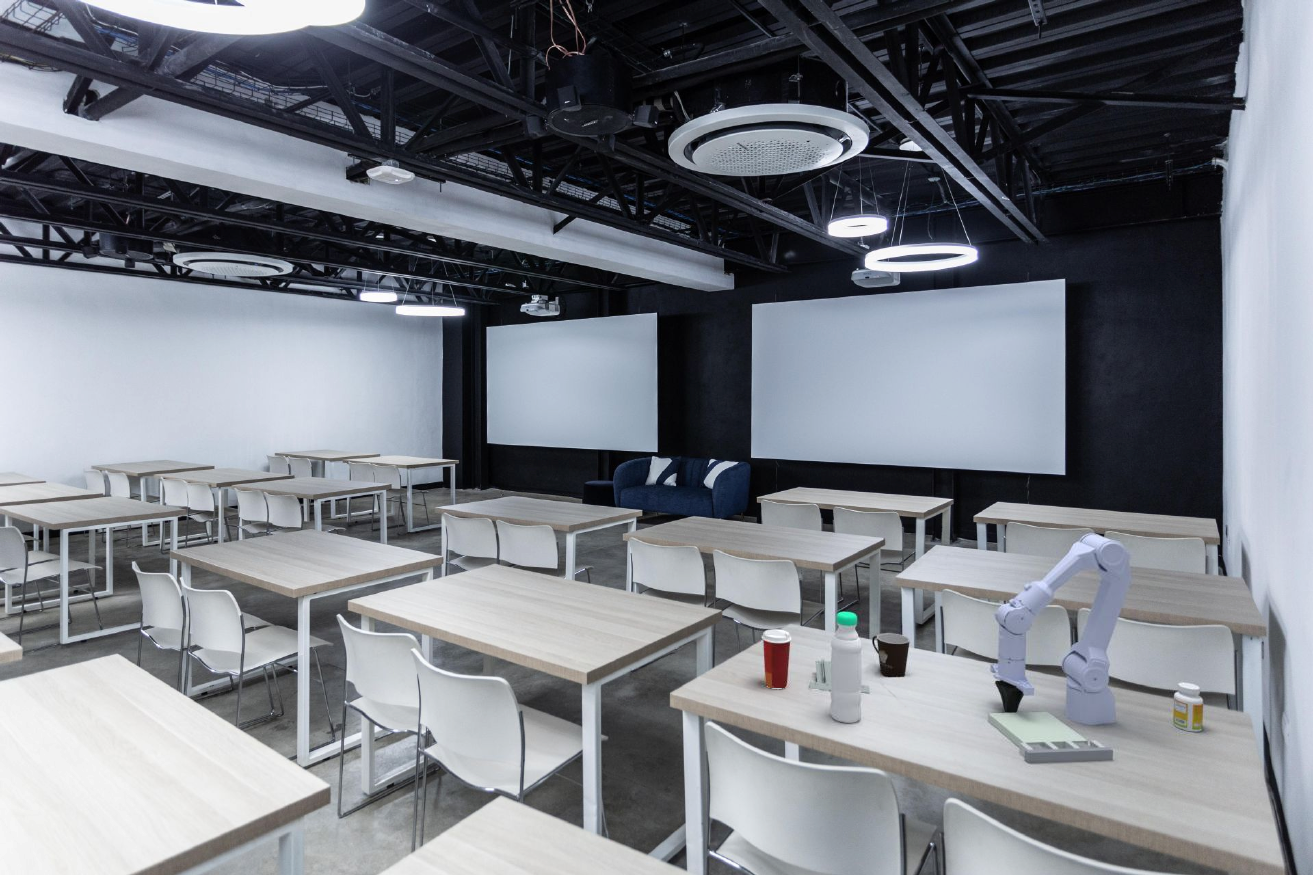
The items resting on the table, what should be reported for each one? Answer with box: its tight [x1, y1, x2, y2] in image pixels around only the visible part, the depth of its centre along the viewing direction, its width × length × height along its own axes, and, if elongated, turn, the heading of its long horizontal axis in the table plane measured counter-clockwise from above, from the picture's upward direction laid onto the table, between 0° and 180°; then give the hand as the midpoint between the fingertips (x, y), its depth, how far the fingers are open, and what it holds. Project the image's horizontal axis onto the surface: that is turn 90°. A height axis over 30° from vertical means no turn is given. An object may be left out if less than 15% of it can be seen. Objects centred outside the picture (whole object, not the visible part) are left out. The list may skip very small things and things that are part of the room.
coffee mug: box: [871, 632, 911, 679], centre depth 195 cm, size 12×9×10 cm
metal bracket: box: [809, 658, 871, 695], centre depth 188 cm, size 14×6×15 cm
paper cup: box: [761, 628, 792, 689], centre depth 186 cm, size 8×8×14 cm
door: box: [987, 711, 1095, 750], centre depth 154 cm, size 14×17×2 cm
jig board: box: [1018, 739, 1114, 764], centre depth 157 cm, size 18×26×4 cm
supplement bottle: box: [1172, 682, 1204, 733], centre depth 162 cm, size 5×5×10 cm
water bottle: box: [829, 611, 863, 724], centre depth 167 cm, size 7×7×25 cm
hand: (1010, 713), depth 165 cm, fingers closed
